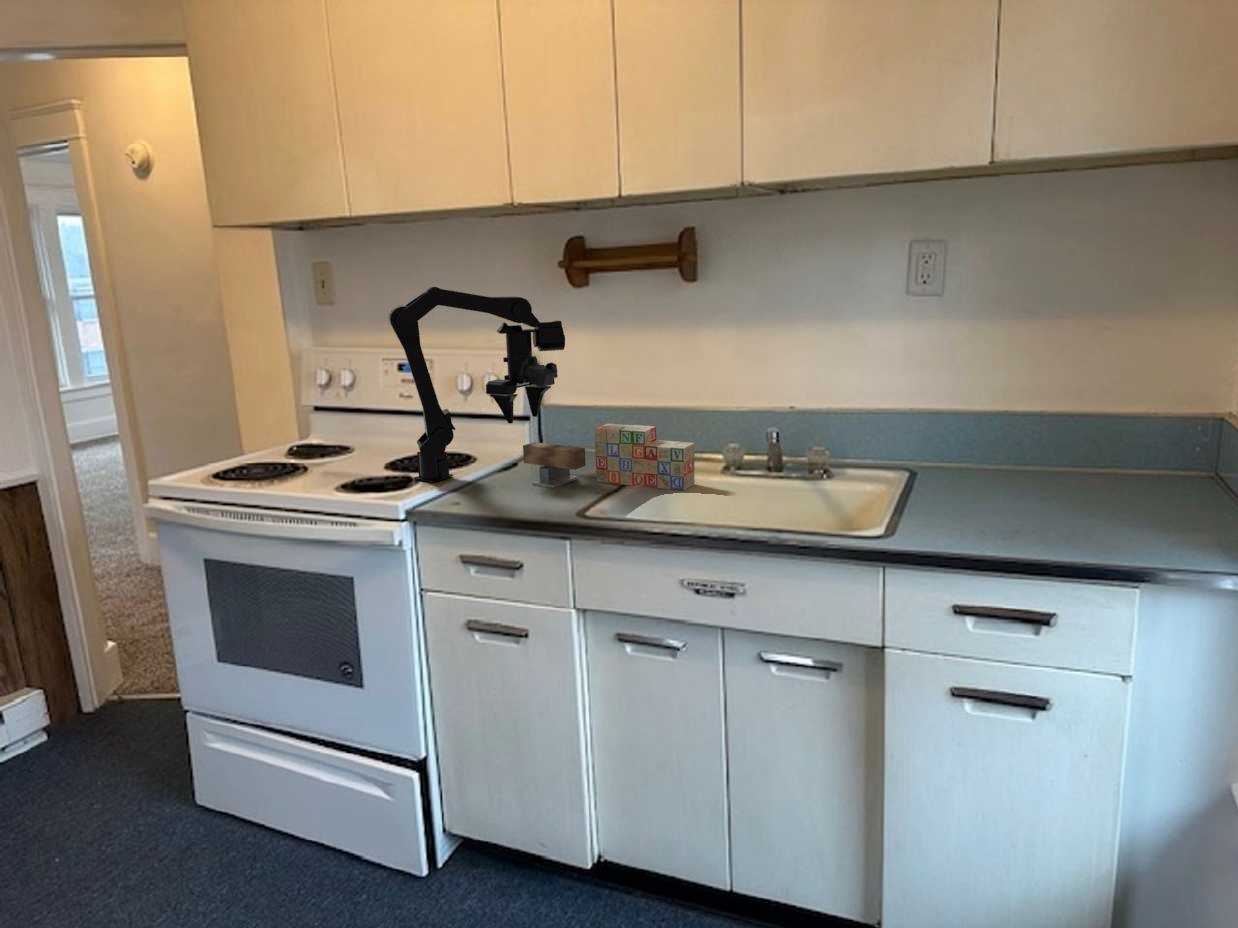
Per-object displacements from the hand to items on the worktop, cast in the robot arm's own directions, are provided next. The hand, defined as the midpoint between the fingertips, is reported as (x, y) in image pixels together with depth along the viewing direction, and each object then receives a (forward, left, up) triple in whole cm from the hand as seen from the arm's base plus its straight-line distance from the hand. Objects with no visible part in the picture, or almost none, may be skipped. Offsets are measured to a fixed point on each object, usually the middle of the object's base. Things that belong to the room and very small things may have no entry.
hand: (522, 419), depth 201 cm
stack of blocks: (+31, +2, -12) cm, 34 cm away
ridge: (+13, -6, -12) cm, 19 cm away
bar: (+13, -6, -8) cm, 16 cm away
